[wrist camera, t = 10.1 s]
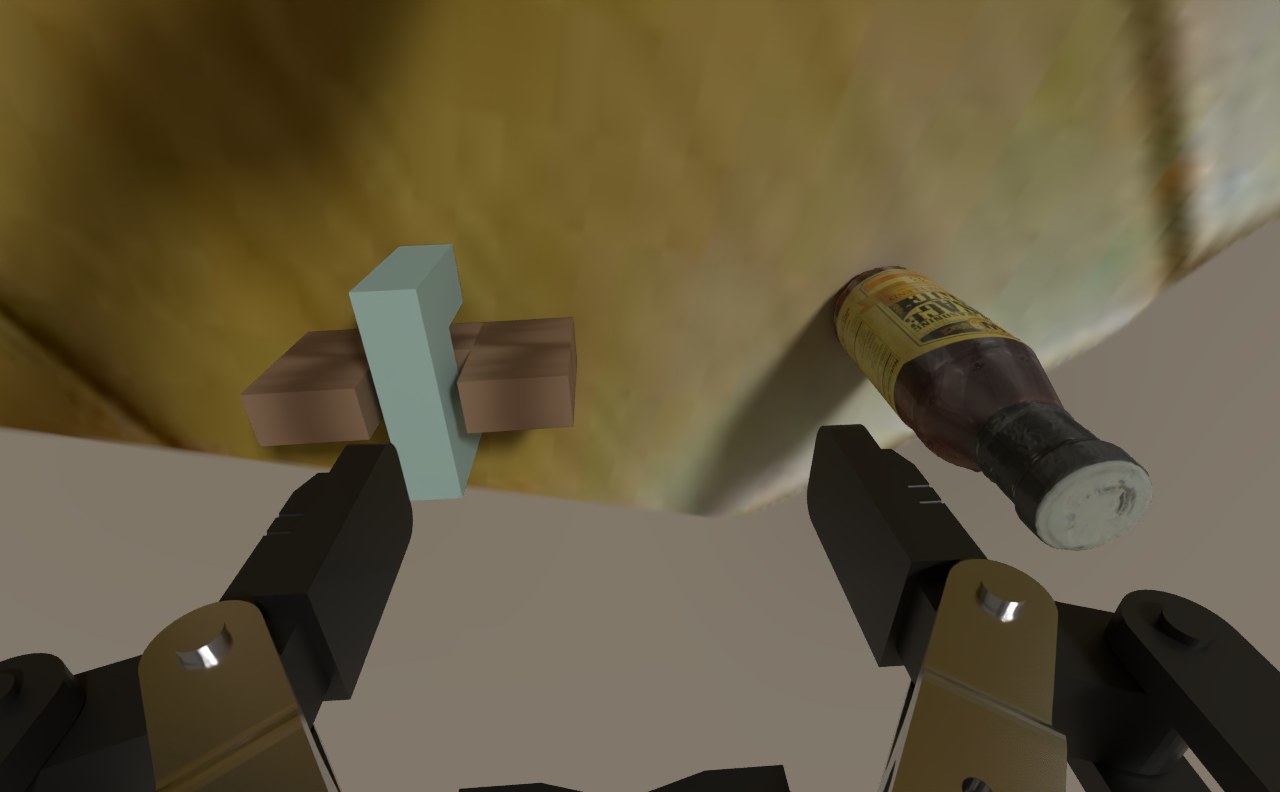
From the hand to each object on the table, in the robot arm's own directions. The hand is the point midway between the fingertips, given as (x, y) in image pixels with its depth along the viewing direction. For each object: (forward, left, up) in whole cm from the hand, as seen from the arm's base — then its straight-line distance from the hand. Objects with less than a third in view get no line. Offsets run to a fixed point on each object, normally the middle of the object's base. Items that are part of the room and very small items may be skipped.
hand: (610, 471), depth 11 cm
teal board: (+8, -10, -25) cm, 28 cm away
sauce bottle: (+7, +17, -26) cm, 31 cm away
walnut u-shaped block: (+8, -10, -25) cm, 29 cm away
